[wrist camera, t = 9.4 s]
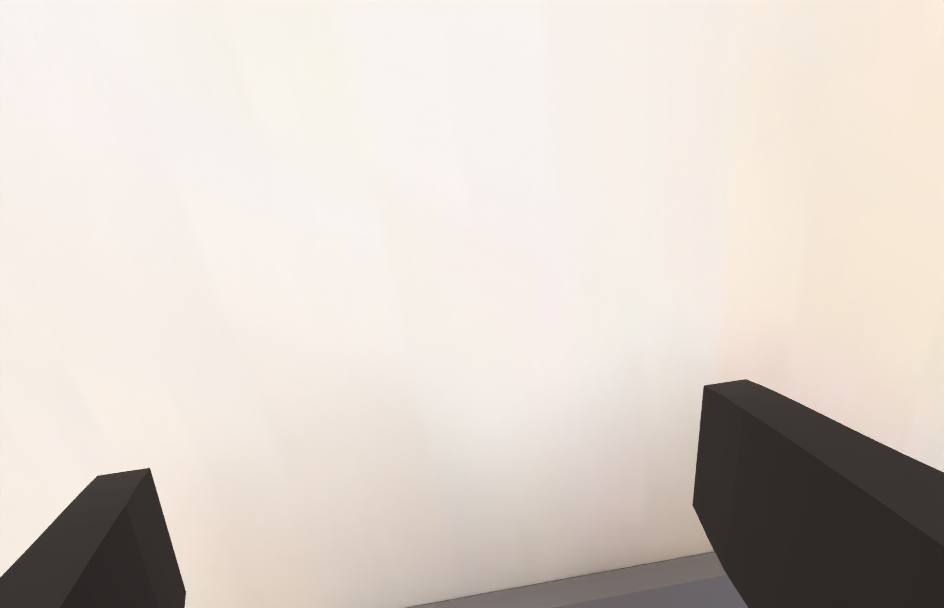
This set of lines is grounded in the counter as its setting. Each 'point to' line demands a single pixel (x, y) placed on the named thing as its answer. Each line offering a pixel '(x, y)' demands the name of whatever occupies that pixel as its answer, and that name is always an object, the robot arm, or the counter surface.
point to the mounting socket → (622, 589)
